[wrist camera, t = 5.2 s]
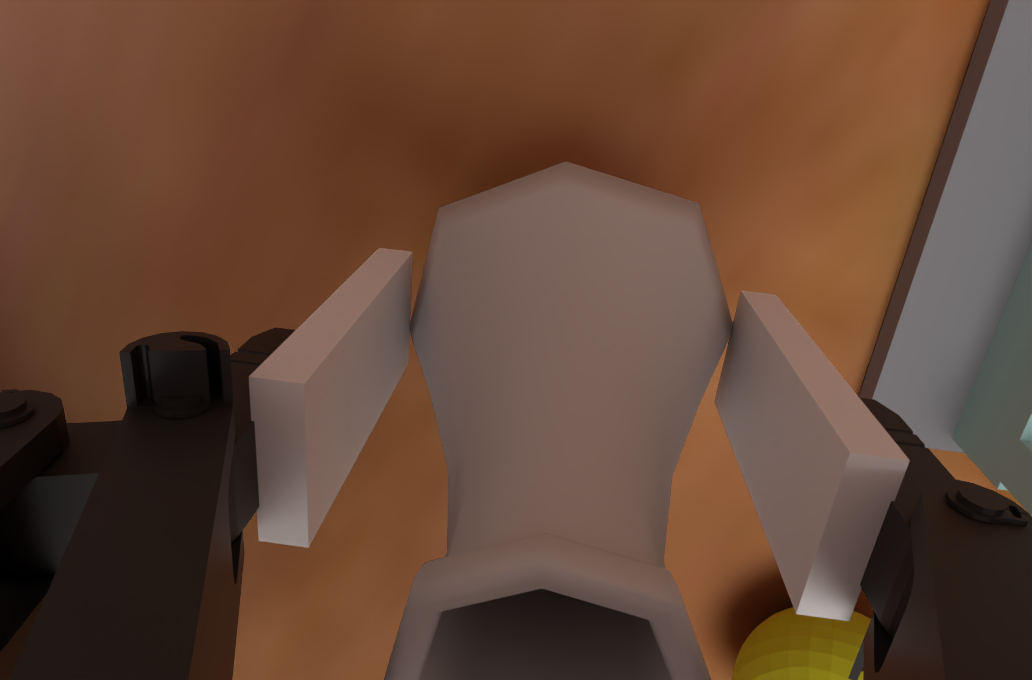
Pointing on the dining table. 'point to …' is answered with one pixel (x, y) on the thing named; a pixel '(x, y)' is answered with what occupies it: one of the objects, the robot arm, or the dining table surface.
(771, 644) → the ornament
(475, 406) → the flask
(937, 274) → the display stand
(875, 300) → the dining table surface
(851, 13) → the dining table surface
